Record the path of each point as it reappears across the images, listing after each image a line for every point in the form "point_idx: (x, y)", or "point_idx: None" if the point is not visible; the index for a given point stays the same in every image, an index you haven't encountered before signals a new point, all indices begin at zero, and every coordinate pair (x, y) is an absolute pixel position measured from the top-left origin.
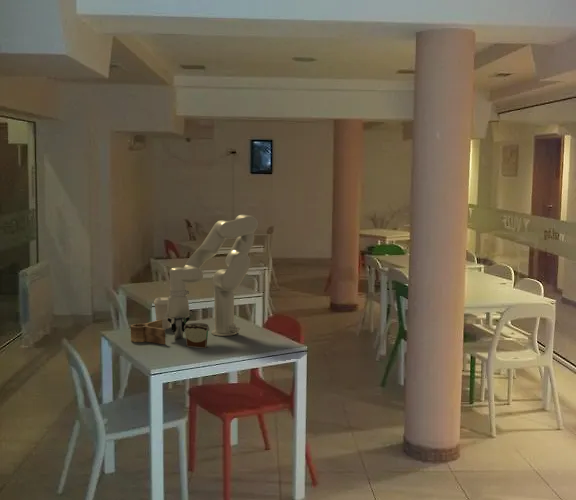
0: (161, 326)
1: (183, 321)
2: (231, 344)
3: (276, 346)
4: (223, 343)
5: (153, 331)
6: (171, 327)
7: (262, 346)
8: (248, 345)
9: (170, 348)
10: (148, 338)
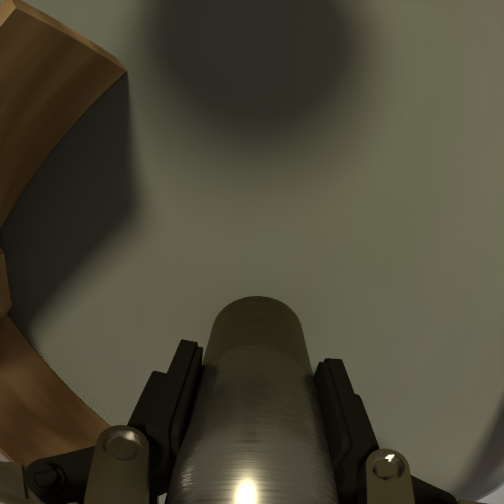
0: (64, 58)
1: (343, 499)
2: (438, 485)
3: (494, 481)
4: (428, 478)
5: (14, 435)
6: (145, 398)
7: (476, 487)
8: (463, 486)
9: (162, 496)
10: (9, 358)
